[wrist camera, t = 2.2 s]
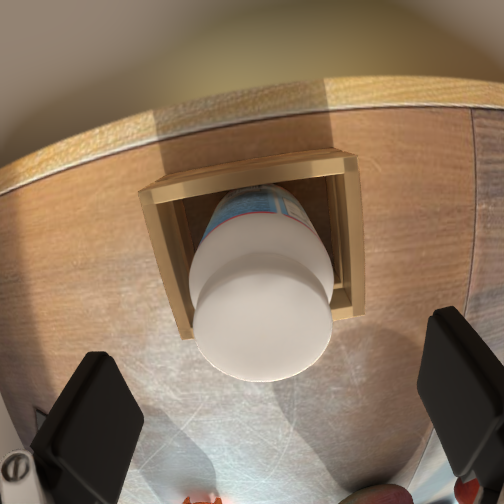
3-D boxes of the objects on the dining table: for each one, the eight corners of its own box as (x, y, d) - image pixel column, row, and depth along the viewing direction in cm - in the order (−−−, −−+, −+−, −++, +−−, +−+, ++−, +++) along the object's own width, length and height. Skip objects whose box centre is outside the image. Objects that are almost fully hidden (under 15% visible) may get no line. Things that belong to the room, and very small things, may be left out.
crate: (195, 297, 23) (181, 340, 18) (164, 175, 20) (137, 191, 15) (345, 276, 22) (365, 315, 17) (334, 147, 19) (357, 155, 14)
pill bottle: (207, 263, 22) (168, 383, 11) (219, 173, 19) (173, 231, 9) (296, 277, 22) (323, 402, 12) (316, 189, 20) (377, 263, 9)
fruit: (446, 470, 35) (463, 517, 26) (498, 439, 33) (520, 482, 23) (450, 486, 38) (464, 526, 29) (495, 459, 36) (513, 497, 27)
